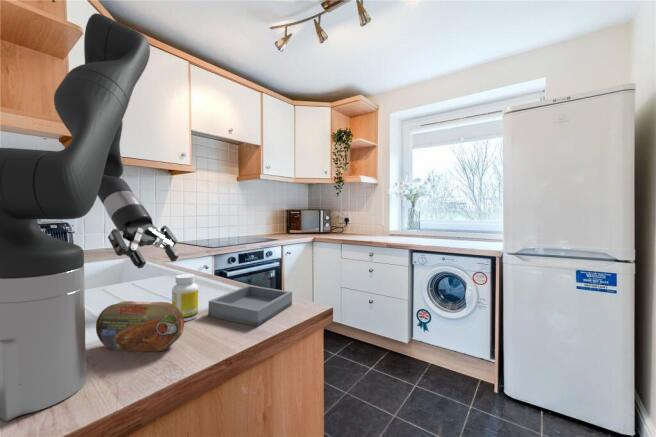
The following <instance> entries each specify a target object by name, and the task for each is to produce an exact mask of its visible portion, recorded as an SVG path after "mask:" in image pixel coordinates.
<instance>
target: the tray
mask: <svg viewBox="0 0 656 437" xmlns="http://www.w3.org/2000/svg"><path fill="white" fill-rule="evenodd" d="M292 305H293V291H289V290H281V289H278V288H277V289H275V288H271V287H270V288H269V287H264V286H258V285H251V284H248V285H246V286H243V287H241V288H238V289H235V290H232V291H231V292H228V293H225V294H224V295H221V296H218V297H215V298H213V299H209V301H208V310H207V311H208V317H212V318H217V319H222V320H226V321H230V322H234V323H239V324H244V325H248V326H251V327H257V328H258V327H260V326H261V325H263V324H265V323H267V322H268V321H269V320H271V319H273V318H274V317H276V316H277V315H279V314H280V313H281V312H283V311H285V310H287V309H288V308H290V307H291V306H292Z"/></svg>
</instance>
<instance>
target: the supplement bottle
mask: <svg viewBox="0 0 656 437" xmlns="http://www.w3.org/2000/svg"><path fill="white" fill-rule="evenodd" d="M195 280H196V275H195V274H193V273H182V274H178V275H176V276H175V285H174V286H173V287H172V289H171V304H173V305H175V306H176V307H177V308H178V309H179V310H180V311H181V313H182V315H183V319H184V322H189V321H191V320H194V319H195V318H197V317H198V315H199V286H198V285H197V284H196V283H195Z"/></svg>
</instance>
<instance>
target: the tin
mask: <svg viewBox="0 0 656 437" xmlns="http://www.w3.org/2000/svg"><path fill="white" fill-rule="evenodd" d="M184 326H185V321H184V319H183V315H182V313H181V311H180V310H179V309H178V308H177V307H176V306H175V305H173V304H172V302H167V301H166V302H165V301H134V300H133V301H131V300H127V301H121V302H118V303H114V304H111V305H109V306H107V307H106V308H104V309H103V310H101V312H100V314H99V315H98V317H97V319H96V323H95V329H96V330H95V332H96V335H97V338H98V339H99V341H100V343H102V345H103V346H104V347H106V348H108V349H109V350H112V351H120V352H121V351H124V352H125V351H126V352H127V351H129V352H153V353H154V352H163V351H165V350H166V349H169V348H170V347H171V346H173V344H174V343H176V341H178V340H179V339H180V338H181V336H182V334H183V331H184V328H185V327H184Z"/></svg>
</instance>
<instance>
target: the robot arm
mask: <svg viewBox="0 0 656 437" xmlns="http://www.w3.org/2000/svg"><path fill="white" fill-rule="evenodd" d="M83 38H84V39H83V47H84V48H83V51H84V52H83V54H84V55H83V56H84V64H80V65H78V66H75V67H73V68H72V69H71V70H70V71H69V72H68V73H67V74H66V75H65V77H63V79H62V81H61V82H60V84H59V85H58V86H57V88H56V89H55V92H54V95H53V103H54V109H55V110H56V113H57V115H58V117H59V119H60V120H61V122H62V123H63V125H64V126H65V128H66V129H67V130H68V132H69V133H70V135H71V141H70V143H69V144H68V146H67V147H66V148H64V149H61V150H57V151H56V150H45V149H44V150H43V149H31V148H30V149H29V148H16V147H13V148H12V147H0V419H1V420H2V421H4V422H9V421H10V420H13V419H14V418H17V417H19V416H22V415H27V414H30V413H35V412H37V411H40V410H43V409H46V408H49V407H51V406H54V405H56V404H59V403H60V402H62V401H64V400H66V399H68V398H70V397H71V396H73V395H74V394H76V393H77V392H78V391H79V390H80V389H81V388H82V387H83V386H84V385H85V383H86V381H87V363H86V362H87V360H86V359H87V358H86V357H87V356H86V307H85V306H86V304H85V303H86V302H85V296H86V294H85V253H84V250H83V248H82V247H81V246H80V245H78V244H75V243H74V242H73V243H72V242H69V241H64V240H62V239H59V238H56V237H53V236H51V235H50V234H48V233H46V232H45V231H44V230H42V229H41V228H40V226H39V223H38V220H52V221H53V220H56V221H58V220H61V221H62V220H77V219H81V218H83V217H84V216H86V215H87V214H88V213H90V211H91V210H92V208H93V206H94V205H95V202H96V200H97V198H98V199H99V200H100V201H101V203H102V205H103V207H104V208H105V211H106V213H107V215H108V216H109V217H108V218H110V220H111V221H112V223H113V225H114V226H115V227H116V228H113V229H112V230H111V231H110V233H109V235H108V236H107V238H108V240H109V243H110V244H111V246H112V248H113V250H114V252H115V254H116V256H118V257H119V256H120V257H121V256H123V255H124V256H126V257H128V258H129V259H130V261H131V262H132V264H133V266H135V267H137V268H138V269H143V268H144V266H145V265H146V263H147V261H146V260H145V258H144V256H143V255H142V254H141V251H140V250H139V249H138V247H139V248H140V247H144V246H152V247H155V248H160V249H162V250H164V253H165V254H166V256H167V257H168V259H169V260H170V261H171V262H173V263H174V262H176V261H177V260H178V258H179V252H178V251H177V250H176V248H175V246H176V244H178V242H179V240H178V239H177V238H176V236H175V235H174V234H173V232H172V231H171V230H170V228H169V227H168V226H167V225H162V227H156V226H155V225H154V224H153V218H152V217H151V215H150V213H149V212H148V211H147V210H146V208H145V206H144V205H143V203H142V202H141V200H140V199H139V198H138V197H137V196H136V195H135V193H134V192H133V190H132V189H131V187H130V186H129V184H128V183H127V181H125V179H122V178H121V177H122V175H123V174H124V166H123V160H122V155H121V148H120V145H121V144H120V143H121V138H122V131H123V124H124V123H123V119H124V117H125V114H126V112H127V109H128V106H129V103H130V101H131V97H132V94H133V91H134V89H135V87H136V84H137V83H138V81H139V80H140V78H141V77H142V76H143V73H144V72H145V70H146V68H147V65H148V63H149V60H150V53H151V46H150V42H149V40H148V38H147V37H146V36H145V35H144V34H142V33H141V32H139V31H137V30H136V29H133V28H131V27H129V26H127V25H126V24H123V23H121V22H119V21H117V20H114V19H113V18H110V17H108V16H106V15H104V14H101V13H97V12H96V13H93V14H91V15H90V17H89V18H88V20H87V21H86V26H85V30H84V37H83ZM158 239H159V240H158ZM157 240H158V241H157ZM125 241H128V242H129V243H128V245H127V244H126V242H125Z"/></svg>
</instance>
